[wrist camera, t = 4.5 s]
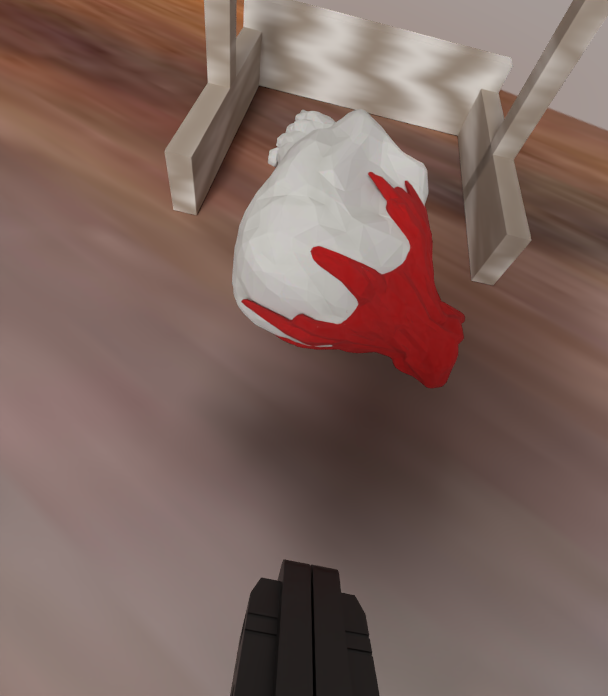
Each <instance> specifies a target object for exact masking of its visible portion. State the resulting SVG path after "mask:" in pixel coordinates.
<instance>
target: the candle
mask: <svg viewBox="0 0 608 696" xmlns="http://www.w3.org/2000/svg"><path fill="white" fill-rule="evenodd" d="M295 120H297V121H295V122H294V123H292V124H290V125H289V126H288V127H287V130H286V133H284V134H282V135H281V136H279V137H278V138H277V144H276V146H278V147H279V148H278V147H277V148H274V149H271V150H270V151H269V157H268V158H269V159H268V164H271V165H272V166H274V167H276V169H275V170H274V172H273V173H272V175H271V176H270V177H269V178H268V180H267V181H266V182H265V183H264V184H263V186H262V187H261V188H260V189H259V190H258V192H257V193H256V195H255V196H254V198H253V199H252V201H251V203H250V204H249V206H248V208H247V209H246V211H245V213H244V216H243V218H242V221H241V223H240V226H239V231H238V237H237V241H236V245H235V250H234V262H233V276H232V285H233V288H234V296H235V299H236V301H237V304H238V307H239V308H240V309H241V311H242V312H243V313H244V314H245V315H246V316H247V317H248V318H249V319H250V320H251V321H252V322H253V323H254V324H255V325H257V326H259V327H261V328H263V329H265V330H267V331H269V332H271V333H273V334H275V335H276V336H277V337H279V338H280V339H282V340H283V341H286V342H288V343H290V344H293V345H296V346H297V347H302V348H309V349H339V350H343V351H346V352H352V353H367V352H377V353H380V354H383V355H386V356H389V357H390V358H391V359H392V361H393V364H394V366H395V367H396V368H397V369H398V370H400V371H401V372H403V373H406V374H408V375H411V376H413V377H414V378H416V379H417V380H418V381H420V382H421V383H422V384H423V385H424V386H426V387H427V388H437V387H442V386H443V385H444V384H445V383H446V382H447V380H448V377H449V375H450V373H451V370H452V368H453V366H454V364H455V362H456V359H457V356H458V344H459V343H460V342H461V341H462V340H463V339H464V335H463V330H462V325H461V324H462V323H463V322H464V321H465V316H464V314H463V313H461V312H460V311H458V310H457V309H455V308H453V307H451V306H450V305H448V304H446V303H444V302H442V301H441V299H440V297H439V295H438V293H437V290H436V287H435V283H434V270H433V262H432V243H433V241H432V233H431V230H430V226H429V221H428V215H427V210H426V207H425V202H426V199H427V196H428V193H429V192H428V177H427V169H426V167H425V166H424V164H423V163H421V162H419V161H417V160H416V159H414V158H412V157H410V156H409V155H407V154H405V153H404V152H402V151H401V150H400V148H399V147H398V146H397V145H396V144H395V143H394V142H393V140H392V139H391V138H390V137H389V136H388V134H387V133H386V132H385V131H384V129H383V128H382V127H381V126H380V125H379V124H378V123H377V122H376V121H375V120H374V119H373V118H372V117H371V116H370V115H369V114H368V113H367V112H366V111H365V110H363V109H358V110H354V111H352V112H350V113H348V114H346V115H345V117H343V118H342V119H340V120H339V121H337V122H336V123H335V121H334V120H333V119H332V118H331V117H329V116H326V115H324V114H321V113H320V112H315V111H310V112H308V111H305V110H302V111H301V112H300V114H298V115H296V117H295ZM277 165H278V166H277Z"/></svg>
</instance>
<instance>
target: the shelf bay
mask: <svg viewBox="0 0 608 696" xmlns="http://www.w3.org/2000/svg"><path fill="white" fill-rule="evenodd" d="M204 7H205V28H206V49H207V71H208V84H207V85H206V87H205V88H204V90H203V91H202V93H201V95H200V96H199V98H198V99H197V101H196V102H195V104H194V106H193V107H192V109H191V110H190V112H189V113H188V115H187V117H186V118H185V120H184V121H183V123H182V124H181V126H180V128H179V129H178V131H177V132H176V134H175V135H174V137H173V139H172V140H171V142H170V143H169V145H168V146H167V148H166V150H165V157H166V164H167V170H168V177H169V183H170V190H171V196H172V203H173V210H177V211H181V212H185V213H189V214H194V215H197V213H198V211H199V209H200V207H201V205H202V203H203V201H204V199H205V197H206V195H207V193H208V190H209V188H210V186H211V184H212V182H213V180H214V178H215V176H216V174H217V172H218V170H219V168H220V165H221V163H222V161H223V159H224V157H225V155H226V153H227V151H228V149H229V147H230V145H231V143H232V140H233V138H234V136H235V134H236V132H237V130H238V128H239V126H240V124H241V122H242V120H243V118H244V116H245V113H246V111H247V109H248V107H249V105H250V103H251V101H252V99H253V97H254V95H255V93H256V91H257V88H258V86H259V85H260V86H264V87H268V88H272V89H276V90H280V91H283V92H287V93H291V94H295V95H299V96H303V97H307V98H311V99H315V100H319V101H323V102H327V103H331V104H335V105H339V106H343V107H347V108H350V109H354V110H358V109H363V110H365V111H366V112H367V113H370V114H374V115H378V116H382V117H386V118H390V119H394V120H398V121H402V122H406V123H410V124H414V125H417V126H421V127H425V128H429V129H433V130H437V131H441V132H445V133H449V134H453V135H457V136H458V144H459V154H460V165H461V176H462V186H463V197H464V207H465V218H466V228H467V239H468V250H469V260H470V271H471V280H472V281H476V282H480V283H485V284H489V285H494V284H495V282H496V281H497V280H498V279H499V278H500V277H501V276H502V274H503V273H504V272H505V271H506V270H507V269H508V267H509V266H510V265H511V264H512V263H513V262H514V260H515V259H516V258H517V257H518V256H519V255H520V253H521V252H522V251H523V250H524V249H525V248H526V246H527V245H528V244H529V243H530V242H531V241H532V240H531V236H530V231H529V227H528V222H527V218H526V214H525V209H524V205H523V200H522V196H521V191H520V187H519V182H518V178H517V173H516V169H515V165H514V158H515V157H516V155H517V154H518V152H519V151H520V149H521V148H522V146H523V144H524V143H525V141H526V140H527V138H528V137H529V135H530V134H531V132H532V131H533V129H534V128H535V126H536V125H537V123H538V122H539V120H540V119H541V117H542V115H543V114H544V112H545V111H546V109H547V108H548V106H549V105H550V103H551V101H552V100H553V99H554V97H555V95H556V94H557V92H558V91H559V89H560V88H561V86H562V85H563V83H564V82H565V80H566V79H567V77H568V76H569V74H570V73H571V71H572V70H573V68H574V67H575V65H576V64H577V62H578V60H579V59H580V57H581V56H582V54H583V53H584V51H585V50H586V48H587V47H588V45H589V44H590V42H591V40H592V39H593V38H594V36H595V34H596V33H597V31H598V30H599V28H600V27H601V25H602V24H603V22H604V21H605V19H606V18H607V16H608V0H573V2H572V3H571V5H570V7H569V9H568V11H567V12H566V14H565V16H564V17H563V19H562V21H561V22H560V24H559V26H558V28H557V29H556V31H555V33H554V34H553V36H552V38H551V40H550V41H549V43H548V45H547V47H546V48H545V50H544V52H543V54H542V55H541V57H540V59H539V60H538V62H537V64H536V66H535V67H534V69H533V71H532V73H531V74H530V76H529V78H528V79H527V81H526V83H525V85H524V86H523V88H522V90H521V92H520V93H519V95H518V97H517V98H516V100H515V102H514V104H513V105H512V107H511V109H510V110H509V112H508V114H507V116H506V117H505V119H504V115H503V111H502V107H501V102H500V98H499V91H500V89H501V87H502V86H503V84H504V82H505V80H506V78H507V76H508V74H509V72H510V71H511V69H512V67H513V64H512V61H511V58H510V57H505V56H502V55H498V54H494V53H491V52H487V51H483V50H479V49H476V48H472V47H468V46H464V45H461V44H457V43H453V42H449V41H445V40H442V39H438V38H434V37H430V36H427V35H423V34H419V33H415V32H411V31H407V30H404V29H400V28H396V27H393V26H389V25H385V24H381V23H377V22H373V21H369V20H366V19H362V18H358V17H355V16H351V15H347V14H343V13H340V12H336V11H332V10H328V9H324V8H321V7H317V6H313V5H309V4H306V3H302V2H298V1H294V0H244V27H243V29H242V30H241V32H240V33H239V35H238V36H237V38H236V0H204Z"/></svg>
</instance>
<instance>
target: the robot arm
mask: <svg viewBox="0 0 608 696" xmlns="http://www.w3.org/2000/svg"><path fill="white" fill-rule="evenodd" d="M230 696H379V690H378V684H377V678H376V673H375V667H374V661H373V657H372V649H371V644H370V639H369V632H368V626H367V620H366V615H365V613H364V611H363V609H362V607H361V605H360V604H359V602H358V600H357V598H356V597H355V595H350V594H345V593H341V588H340V579H339V572H338V570H336V569H331V568H326V567H321V566H316V565H311V566H310V565H309V564H305V563H300V562H295V561H289V560H283V562H282V565H281V569H280V573H279V577H278V581H276V580H271V579H266V578H261V579H260V580H259V581H258V583H257V584H256V586H255V587H254V589H253V590H252V591H251V593H250V598H249V602H248V606H247V610H246V615H245V619H244V623H243V627H242V632H241V636H240V641H239V647H238V652H237V658H236V664H235V670H234V676H233V682H232V687H231V693H230Z"/></svg>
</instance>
